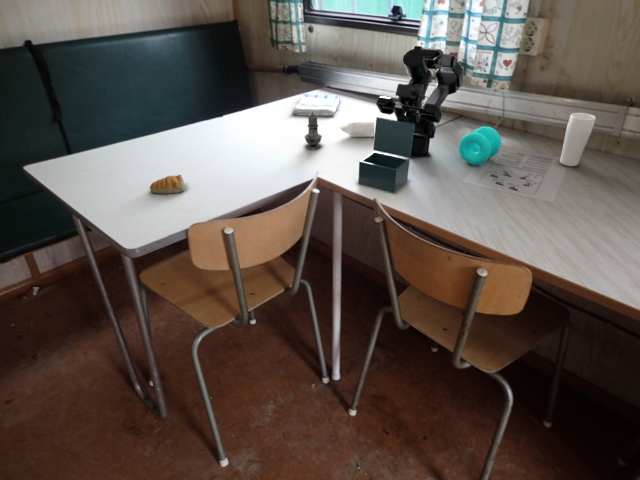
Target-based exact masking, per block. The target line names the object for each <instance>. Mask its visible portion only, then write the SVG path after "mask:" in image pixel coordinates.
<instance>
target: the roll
mask: <svg viewBox="0 0 640 480" xmlns="http://www.w3.org/2000/svg"><path fill="white" fill-rule="evenodd" d="M339 129H340V130H341V131H342V132H344V133H345V134H347V135H348V136H350V137H353V138H355V137H356V138H363V137H364V138H365V137H366V138H367V137H371V138H374V137H375V120H359V119H357V120H352V121H350V122H348V123H346V124H344V125H340V127H339Z"/></svg>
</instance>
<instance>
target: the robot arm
mask: <svg viewBox="0 0 640 480" xmlns="http://www.w3.org/2000/svg"><path fill="white" fill-rule="evenodd" d="M402 62H403V66H404V68H405V70H406V73H407V75H408V76H409V77H410V78H409V79H408V83H406V84H403V83H398V84H397V87H396V91H395V96H396V97H398V98H397V100H398V101H396V102H394V100H393V98H392V97H390V96H389V97H388V96H384V95H383V96H382V95H381V96H379V97H377V99H376V102H375V105H376V107H377V109H378V110H379V112H380V113H381V114H385V115H392V114H394V115H395V117H396V121H401V122H406V123H412V124H415V128H414V135H413V142H412V149H411V156H410V158H420V157H421V158H422V157H430V156H431V153H430V152H429V150H430V142H431V139H435V136H436V129H437V128H436V125H435V124H439V123H440V122H441V120H442V118H443V117H442V116H443V114H442V111H441V108H440V107H441V106H442V105H443V103H444V102H445V100H446V99H447V97H448V96H450V95H453V94H455V93H457V91H459V89H460V88H461V87H462V86H463V83H464V69H463V68H462V66H461V65H460V63H459V62H458V57H457V55H455V54H449V53H444V51H443V50H442V49H441V48H436V47H435V48H434V47H424V46H423V47H422V45H414V47H413V48H412V49H409V50H408V51H407V52H405V54H404V55H403V58H402ZM442 68H447V69H451V71H450V70H444V69H443V70H441V69H442ZM430 70H433V71H436V72H435V74H434V78H435V85H436V86H435V87H434V89H433V90H432V91H431V93H430V94H429V95H428V97H427V98H426V92H427V91H428V87H429V85H430V84H431V83H432V81H433V79H432V77H433V75H432V72H431V71H430ZM425 99H426V100H425ZM423 101H424V102H423Z"/></svg>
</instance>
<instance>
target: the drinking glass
mask: <svg viewBox="0 0 640 480" xmlns="http://www.w3.org/2000/svg"><path fill="white" fill-rule="evenodd" d="M596 118H597V117H596V116H595V115H593V114H590V113H586V112H572V113H571V114H570V116H569V119H568V122H567V124H566V127H565V128H566V129H565V134H564V138H563V144H562V148H561V149H562V150H561V153H560V154H561V155H560V158H559V163H560V164H561V165H563V166H566V167H577V166H578V165H580V164H579V163H580V160H581V158H582V155H583V153H584V150H585V148H586V146H587V144H588V141H589V140H590V136H591V135H592V132H593V129H594V125H595V122H596Z"/></svg>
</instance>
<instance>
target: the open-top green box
mask: <svg viewBox="0 0 640 480" xmlns="http://www.w3.org/2000/svg"><path fill="white" fill-rule="evenodd" d="M409 169H410V158H407V157H403V156H398V155H394V154H389V153H385V152H380V151H376V150H373V151H372V152H371V153H369V154H368V155H366V156H365V157H364V158H362V159H361V160H359V162H358V182H357V183H358V184H359V185H361V186H365V187H370V188H372V189H377V190H382V191H385V192H388V193H393V194H396V193H397V192H398V191H399V190H400V189H401V188H402V187H403V186H404V185H406V183H408V179H409V171H410V170H409Z"/></svg>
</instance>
